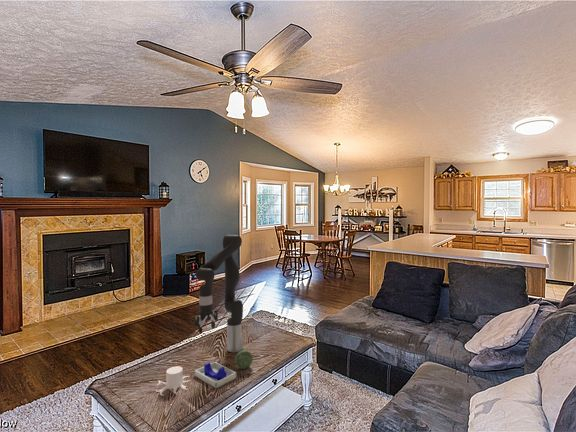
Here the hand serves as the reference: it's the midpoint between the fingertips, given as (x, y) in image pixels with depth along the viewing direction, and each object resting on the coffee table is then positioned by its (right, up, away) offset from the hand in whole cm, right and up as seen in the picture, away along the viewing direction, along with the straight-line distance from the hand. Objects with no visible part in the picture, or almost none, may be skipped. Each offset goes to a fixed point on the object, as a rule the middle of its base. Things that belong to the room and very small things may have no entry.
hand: (206, 330), depth 182 cm
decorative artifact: (+22, -22, 0) cm, 31 cm away
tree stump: (-13, -23, -16) cm, 31 cm away
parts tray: (+7, -22, -9) cm, 25 cm away
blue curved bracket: (+7, -22, -9) cm, 25 cm away
